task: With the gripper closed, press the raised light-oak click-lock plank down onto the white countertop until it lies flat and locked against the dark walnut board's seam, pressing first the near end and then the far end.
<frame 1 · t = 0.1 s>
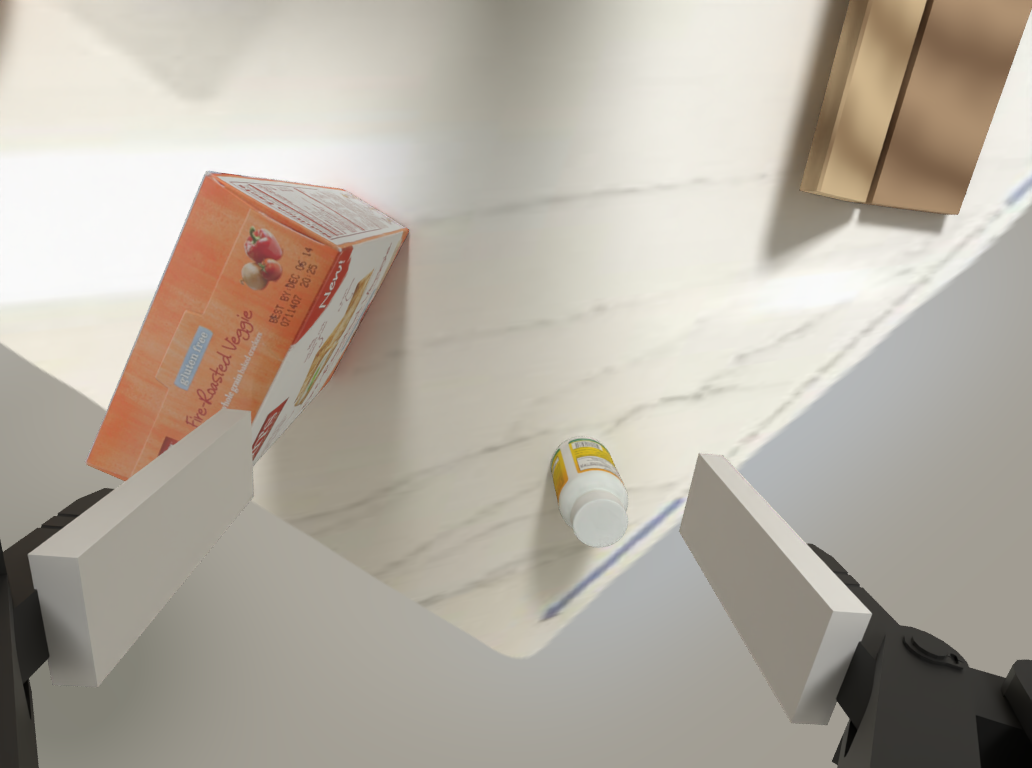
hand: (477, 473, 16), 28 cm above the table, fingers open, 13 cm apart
supplement bottle 2: (579, 461, 47), on the table
cracker box: (340, 289, 41), on the table
laid board: (898, 38, 38), on the table
plank: (883, 21, 35), point 2 cm above the table, hinge at 30.0°
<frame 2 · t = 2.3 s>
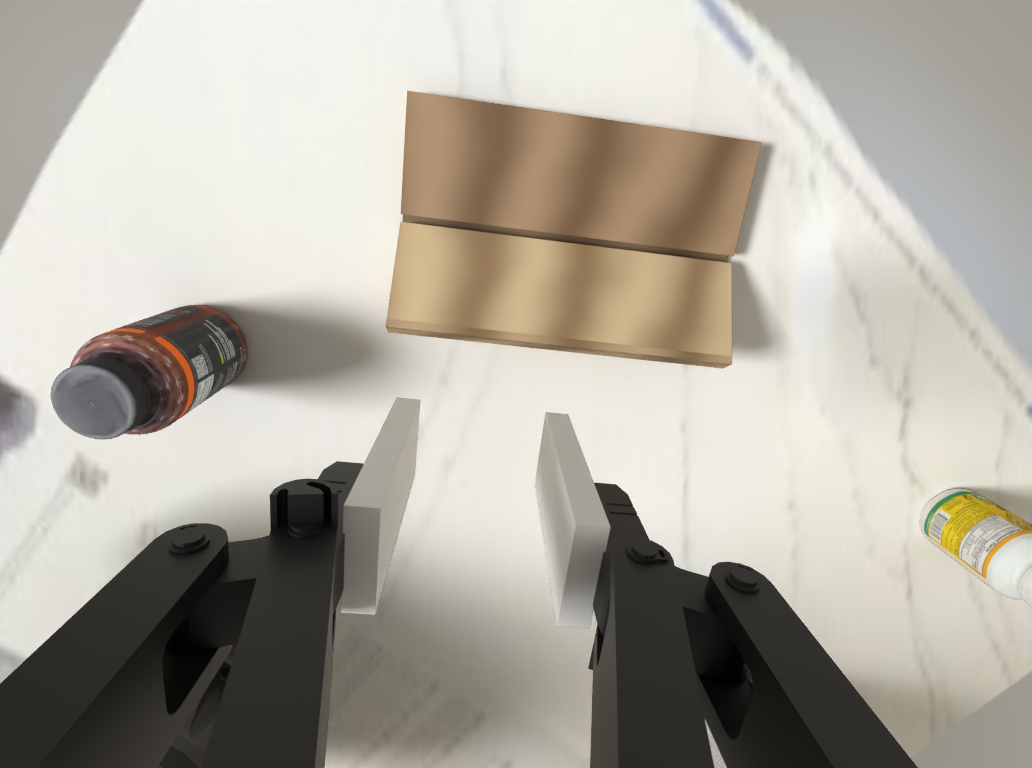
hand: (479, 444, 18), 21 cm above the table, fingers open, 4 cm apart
supplement bottle 2: (946, 513, 44), on the table
cracker box: (735, 696, 50), on the table
laid board: (567, 248, 36), on the table
plank: (565, 296, 35), point 2 cm above the table, hinge at 30.0°
supplement bottle: (208, 345, 37), on the table
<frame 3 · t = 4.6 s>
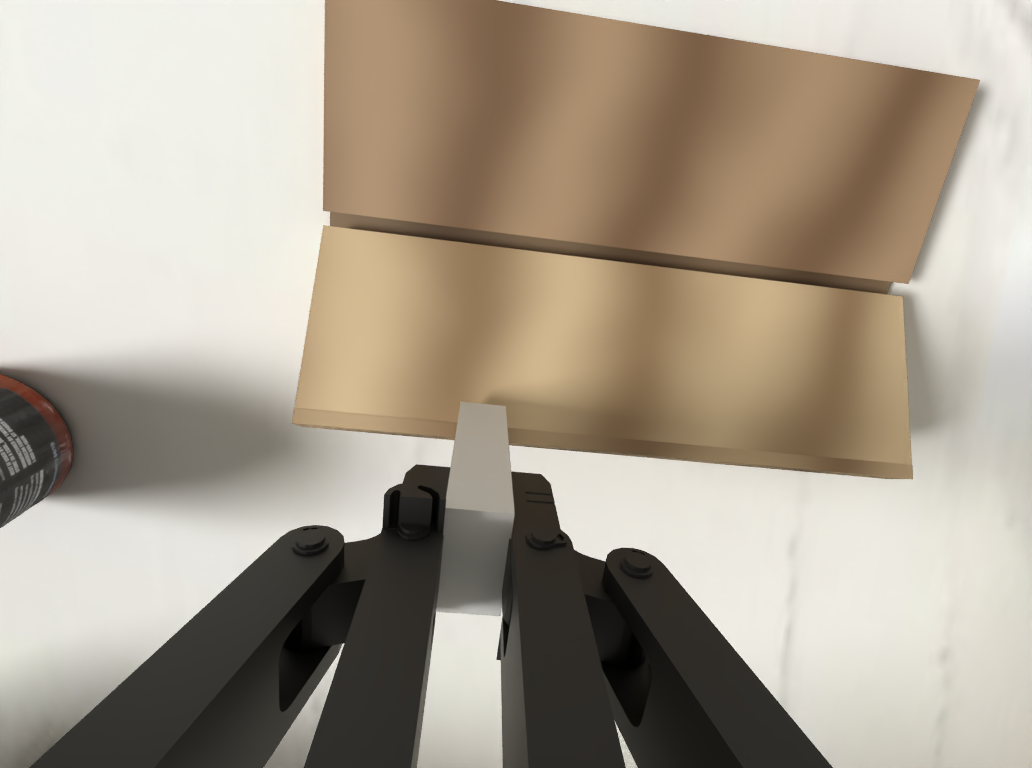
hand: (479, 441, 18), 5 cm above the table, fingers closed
laid board: (618, 270, 21), on the table
plank: (618, 358, 20), point 2 cm above the table, hinge at 28.7°, touching gripper
supplement bottle: (8, 433, 22), on the table
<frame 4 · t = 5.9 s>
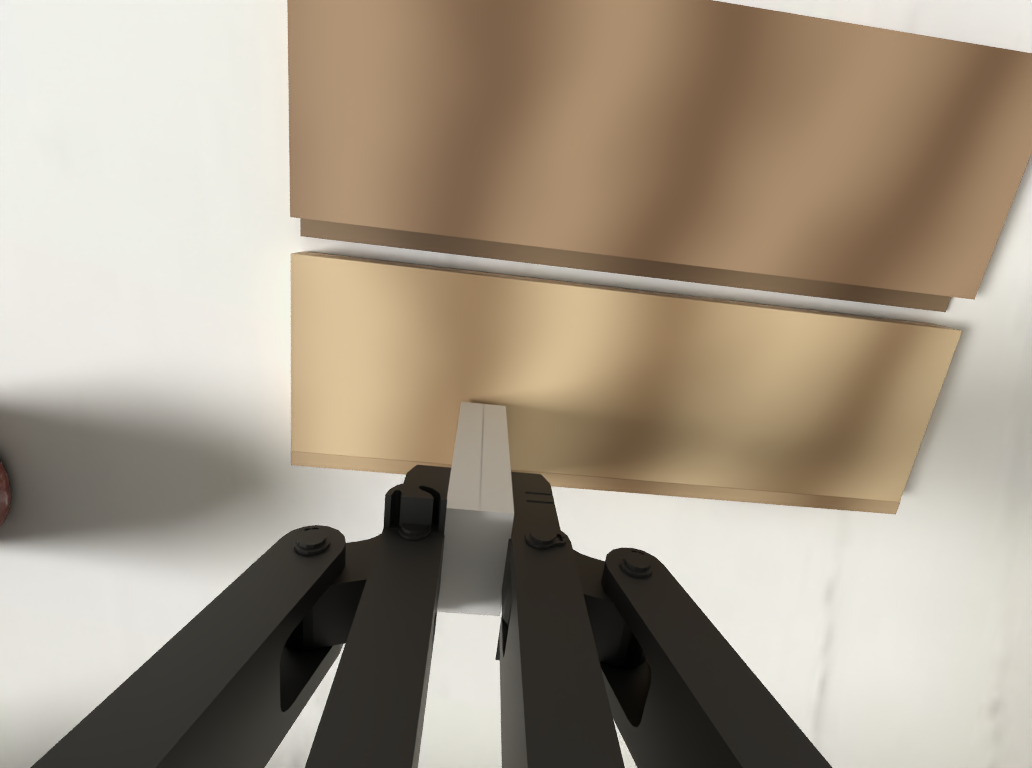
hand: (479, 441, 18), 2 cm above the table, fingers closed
laid board: (636, 283, 18), on the table
plank: (621, 392, 18), point 1 cm above the table, hinge at 1.7°, touching gripper
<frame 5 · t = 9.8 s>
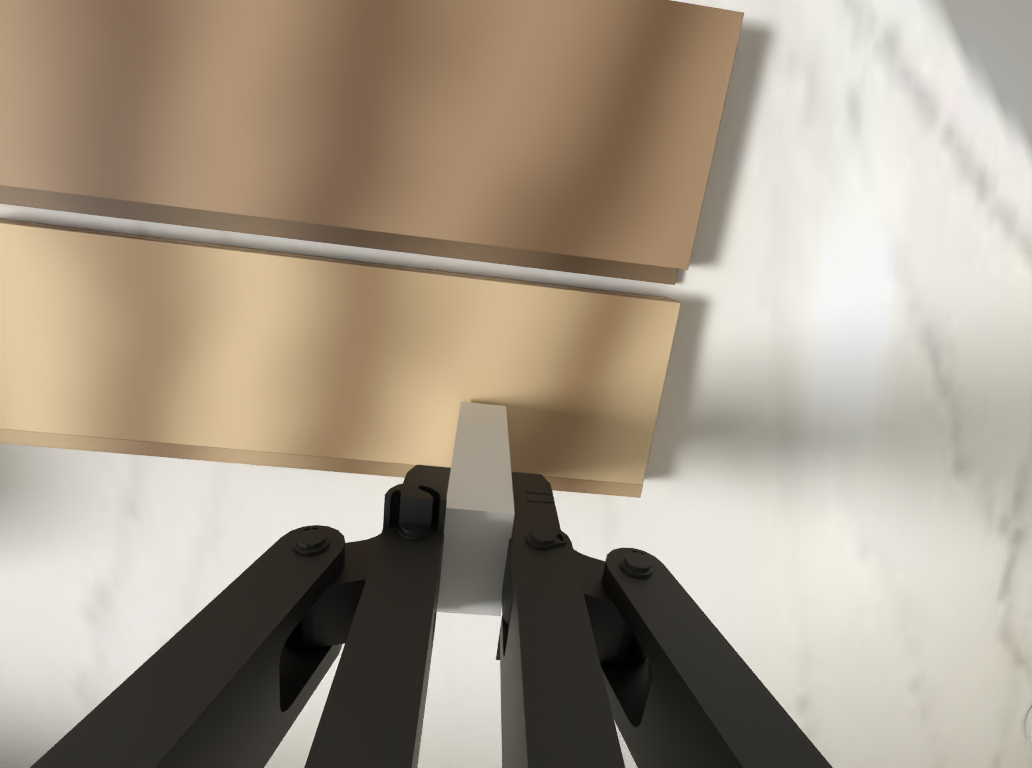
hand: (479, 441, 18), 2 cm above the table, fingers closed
laid board: (342, 253, 17), on the table
plank: (334, 367, 18), point 1 cm above the table, hinge at 1.5°, touching gripper
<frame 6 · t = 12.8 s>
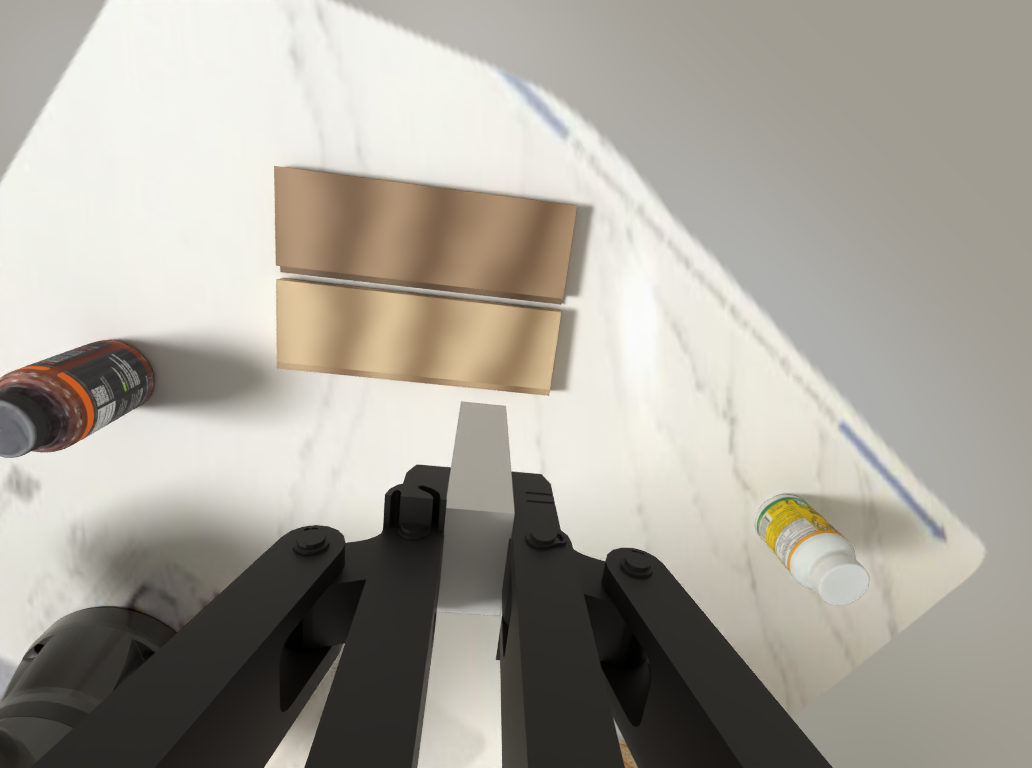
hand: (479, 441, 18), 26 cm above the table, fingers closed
supplement bottle 2: (779, 516, 51), on the table
cracker box: (608, 678, 56), on the table
laid board: (423, 291, 42), on the table
plank: (419, 338, 43), point 1 cm above the table, hinge at 1.3°
supplement bottle: (121, 373, 43), on the table
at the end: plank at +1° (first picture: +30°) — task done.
